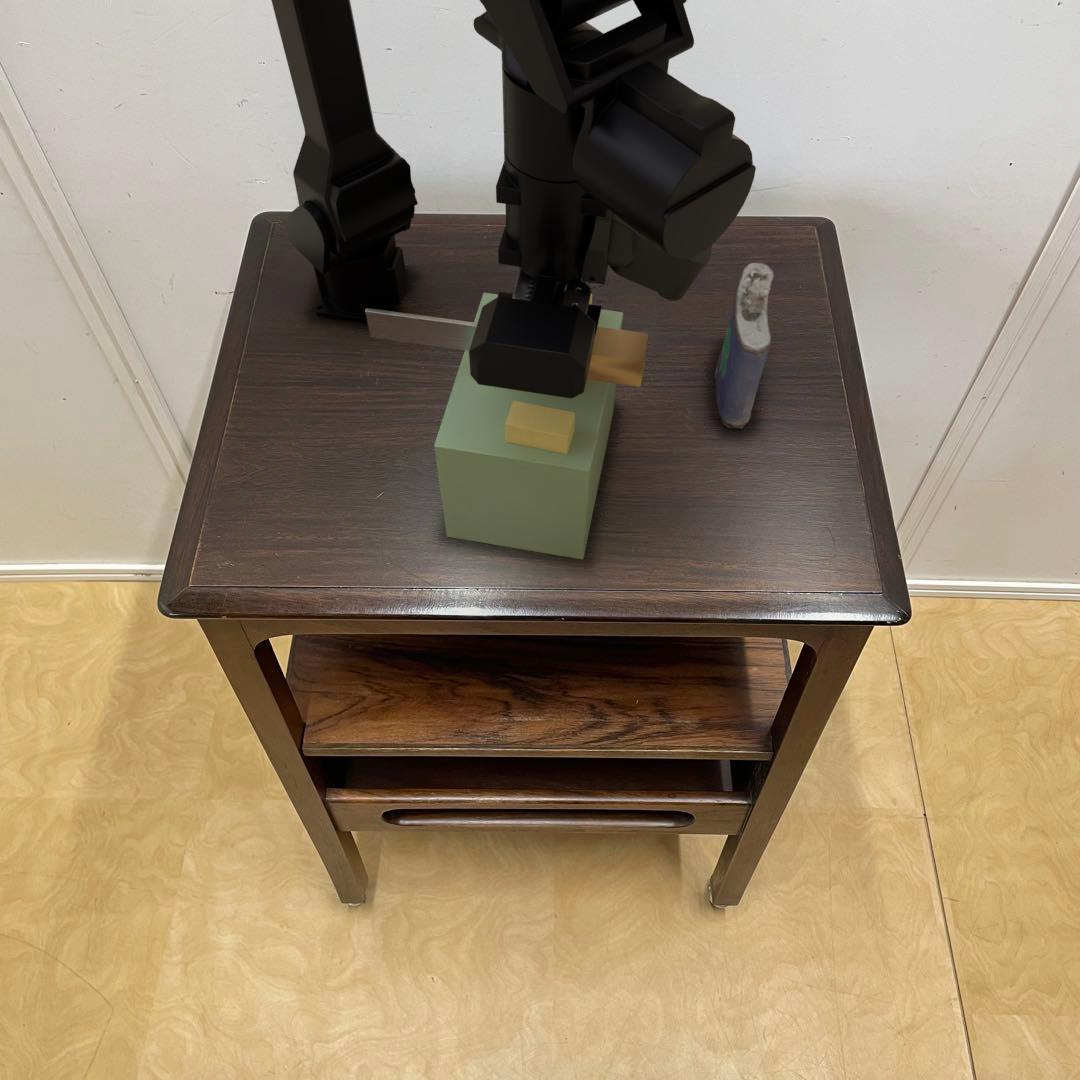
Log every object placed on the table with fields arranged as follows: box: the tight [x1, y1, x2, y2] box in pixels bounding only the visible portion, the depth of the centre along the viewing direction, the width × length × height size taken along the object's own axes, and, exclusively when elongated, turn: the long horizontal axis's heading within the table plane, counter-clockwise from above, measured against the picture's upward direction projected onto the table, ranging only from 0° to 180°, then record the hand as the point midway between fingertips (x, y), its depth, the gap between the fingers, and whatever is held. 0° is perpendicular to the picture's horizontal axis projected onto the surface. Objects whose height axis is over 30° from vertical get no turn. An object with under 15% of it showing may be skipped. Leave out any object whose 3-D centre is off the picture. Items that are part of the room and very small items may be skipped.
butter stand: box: [433, 292, 624, 560], centre depth 70 cm, size 10×14×11 cm
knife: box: [365, 308, 649, 388], centre depth 64 cm, size 18×2×2 cm, turn 79°
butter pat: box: [505, 401, 575, 454], centre depth 62 cm, size 4×2×2 cm, turn 76°
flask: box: [714, 262, 775, 429], centre depth 75 cm, size 9×3×11 cm, turn 172°
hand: (553, 357), depth 64 cm, fingers closed on knife, 2 cm apart
